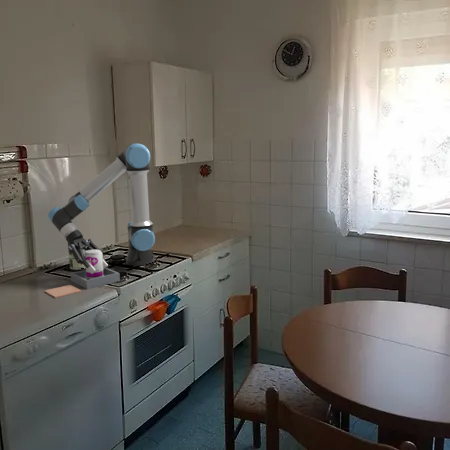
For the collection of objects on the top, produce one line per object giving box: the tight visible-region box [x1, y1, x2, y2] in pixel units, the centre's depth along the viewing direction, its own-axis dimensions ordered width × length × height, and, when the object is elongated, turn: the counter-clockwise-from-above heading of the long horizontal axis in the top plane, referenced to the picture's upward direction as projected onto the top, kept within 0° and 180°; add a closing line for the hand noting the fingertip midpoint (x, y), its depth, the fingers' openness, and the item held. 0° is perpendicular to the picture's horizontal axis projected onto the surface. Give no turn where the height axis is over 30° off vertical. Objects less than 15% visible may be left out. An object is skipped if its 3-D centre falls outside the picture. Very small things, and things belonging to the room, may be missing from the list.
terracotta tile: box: [44, 284, 82, 299], centre depth 215 cm, size 12×12×1 cm
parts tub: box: [70, 267, 121, 290], centre depth 230 cm, size 17×17×4 cm
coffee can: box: [67, 242, 87, 270], centre depth 255 cm, size 10×10×14 cm
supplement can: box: [85, 248, 104, 280], centre depth 229 cm, size 8×8×15 cm
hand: (100, 269), depth 227 cm, fingers closed on supplement can, 8 cm apart
